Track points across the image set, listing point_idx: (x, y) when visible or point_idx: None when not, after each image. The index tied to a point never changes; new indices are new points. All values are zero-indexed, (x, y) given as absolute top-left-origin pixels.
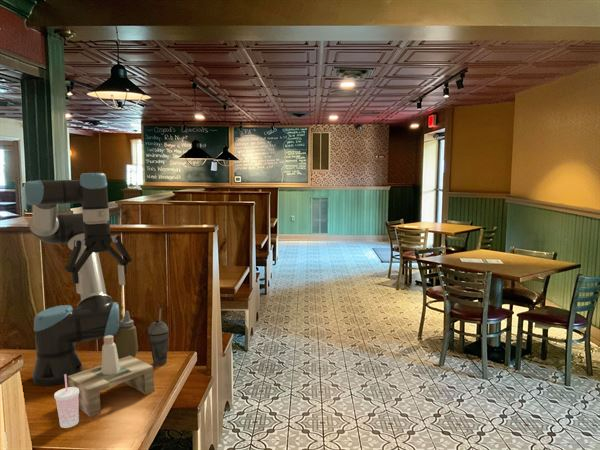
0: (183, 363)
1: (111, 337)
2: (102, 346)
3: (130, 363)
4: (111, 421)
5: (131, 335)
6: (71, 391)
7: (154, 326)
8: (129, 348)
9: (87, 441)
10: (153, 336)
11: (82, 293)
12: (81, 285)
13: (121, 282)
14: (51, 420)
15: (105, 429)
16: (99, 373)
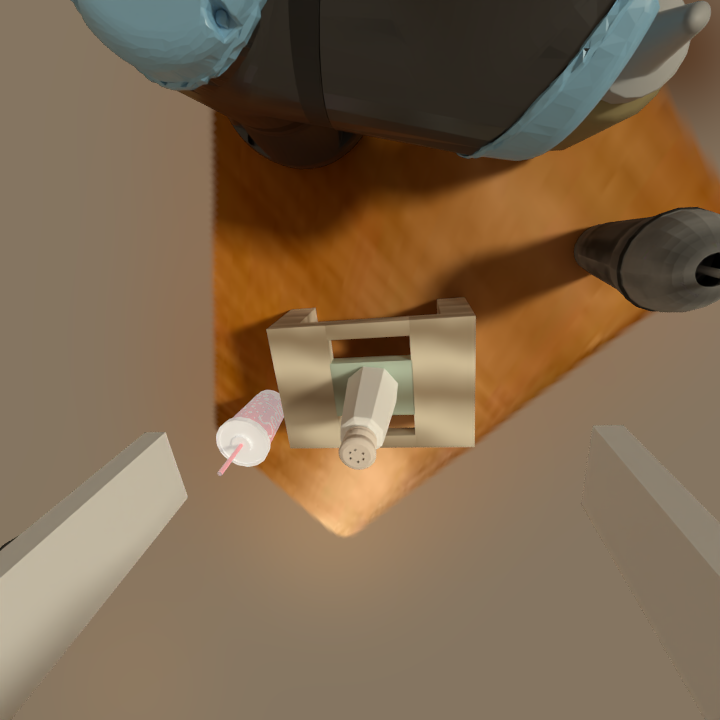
0: (642, 312)
1: (363, 468)
2: (341, 424)
3: (440, 379)
4: (336, 455)
5: (594, 131)
6: (252, 445)
7: (662, 290)
8: (553, 147)
9: (283, 481)
10: (620, 289)
11: (183, 500)
12: (129, 561)
13: (598, 503)
14: (243, 367)
15: (318, 471)
16: (342, 379)
